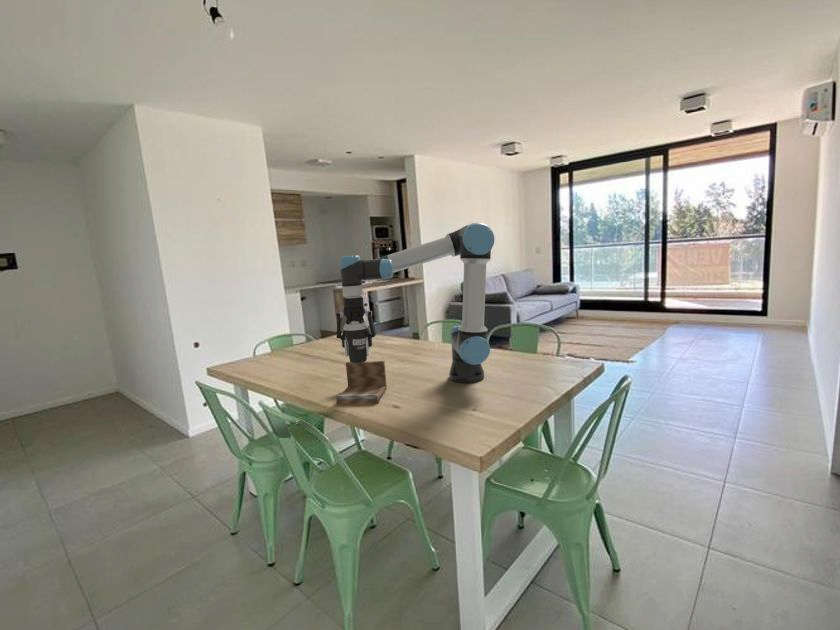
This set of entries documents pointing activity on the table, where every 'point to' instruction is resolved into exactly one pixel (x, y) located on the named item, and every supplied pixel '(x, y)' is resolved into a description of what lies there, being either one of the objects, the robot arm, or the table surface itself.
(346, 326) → the coffee cup
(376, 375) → the shelf
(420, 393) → the table surface
